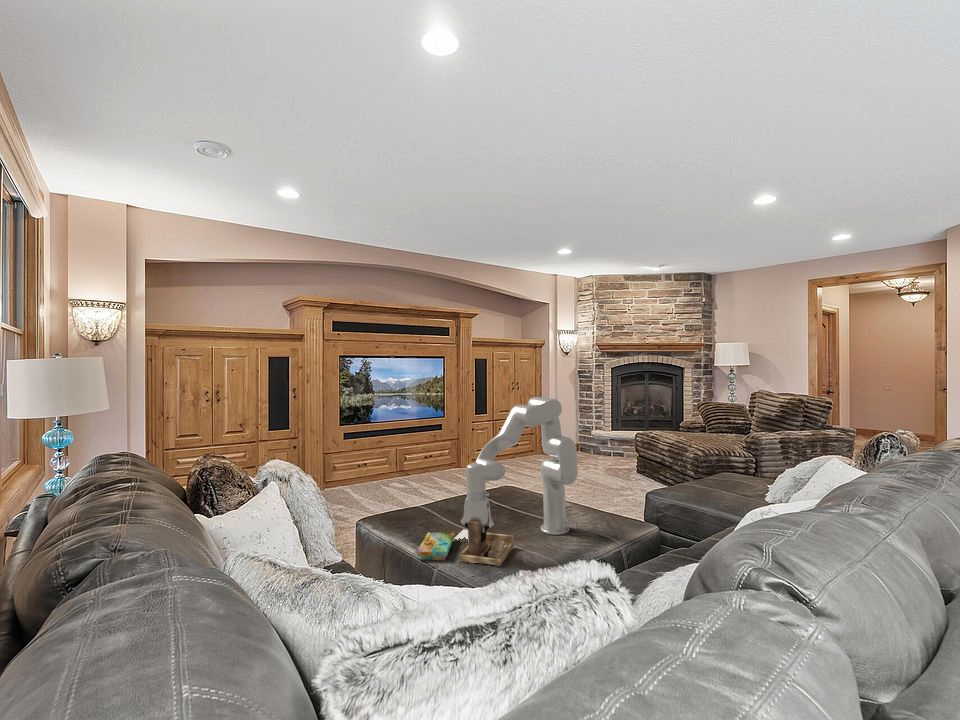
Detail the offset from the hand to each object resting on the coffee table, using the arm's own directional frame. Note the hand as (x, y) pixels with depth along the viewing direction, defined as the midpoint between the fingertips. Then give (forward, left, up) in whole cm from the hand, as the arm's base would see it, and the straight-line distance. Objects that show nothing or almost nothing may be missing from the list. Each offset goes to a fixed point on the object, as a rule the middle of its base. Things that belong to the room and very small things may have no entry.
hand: (477, 540), depth 204 cm
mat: (+10, -15, -5) cm, 19 cm away
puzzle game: (+17, +2, -6) cm, 18 cm away
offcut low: (-8, -1, -6) cm, 10 cm away
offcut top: (-8, 0, -3) cm, 9 cm away
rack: (-4, 0, -5) cm, 7 cm away
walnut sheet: (0, 0, -5) cm, 5 cm away
